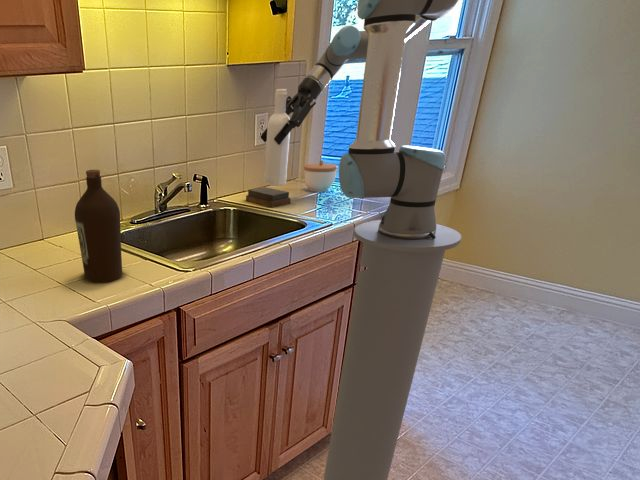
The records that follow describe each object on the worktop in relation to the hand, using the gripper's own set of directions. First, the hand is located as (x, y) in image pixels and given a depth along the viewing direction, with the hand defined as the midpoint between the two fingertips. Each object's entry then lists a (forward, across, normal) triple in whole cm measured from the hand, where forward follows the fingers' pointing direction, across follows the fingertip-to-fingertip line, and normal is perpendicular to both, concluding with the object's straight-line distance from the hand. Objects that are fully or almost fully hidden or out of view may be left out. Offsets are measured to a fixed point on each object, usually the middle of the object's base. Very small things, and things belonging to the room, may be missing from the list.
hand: (269, 140), depth 171 cm
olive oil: (+68, -42, +38) cm, 88 cm away
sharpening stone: (+13, +3, -17) cm, 22 cm away
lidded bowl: (-7, +10, -37) cm, 39 cm away
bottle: (+8, 0, -13) cm, 15 cm away
